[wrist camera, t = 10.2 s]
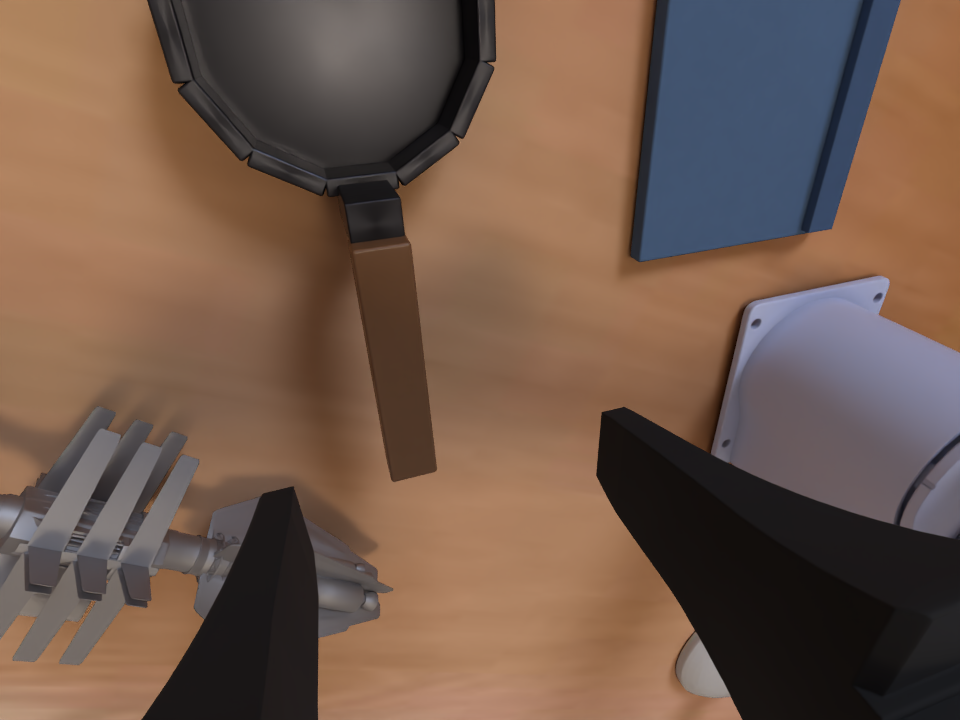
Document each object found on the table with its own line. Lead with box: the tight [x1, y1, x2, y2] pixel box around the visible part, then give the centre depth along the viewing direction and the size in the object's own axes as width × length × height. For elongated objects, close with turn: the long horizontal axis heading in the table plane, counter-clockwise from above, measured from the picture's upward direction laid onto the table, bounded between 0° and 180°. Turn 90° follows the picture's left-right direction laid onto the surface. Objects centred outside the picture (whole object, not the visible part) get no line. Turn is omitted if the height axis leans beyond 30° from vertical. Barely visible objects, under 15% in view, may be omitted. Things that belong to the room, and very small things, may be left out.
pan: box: [147, 0, 496, 482], centre depth 15 cm, size 16×8×5 cm, turn 2°
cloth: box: [631, 0, 901, 262], centre depth 18 cm, size 14×9×1 cm, turn 3°
